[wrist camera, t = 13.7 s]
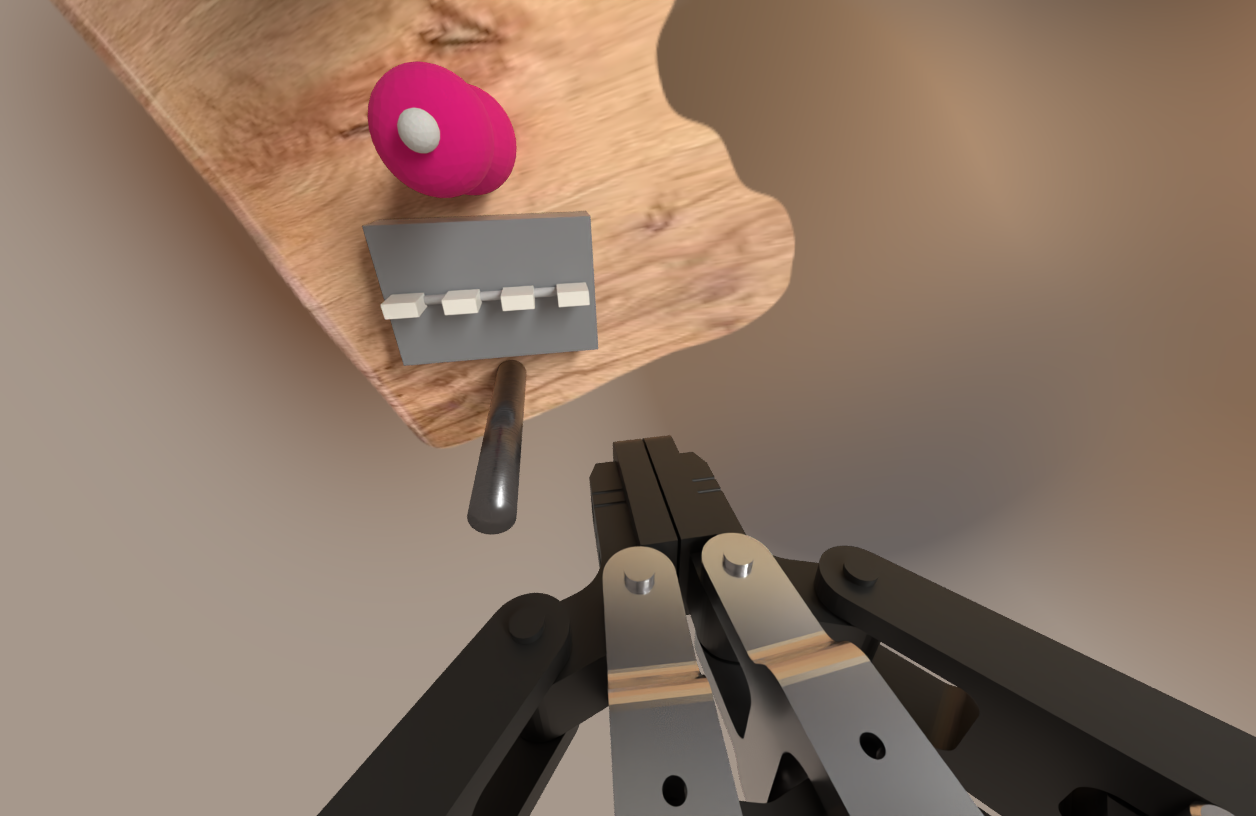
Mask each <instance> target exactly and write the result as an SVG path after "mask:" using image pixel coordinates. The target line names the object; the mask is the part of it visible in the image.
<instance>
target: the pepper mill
mask: <svg viewBox="0 0 1256 816" xmlns="http://www.w3.org/2000/svg"><path fill="white" fill-rule="evenodd" d="M368 124H369V131H370V134H371V138H372V141H373V144H374V146H375V148H376V151H377V153H378V154H379V156H380V158H381V159H382V161H383V163H384V164H385V165H386V167H387V168H388V169H389V170H390V171H391V172H392V173H393V174H394V176H396V177H397V178H398V179H399V180H400V181H401V182H403V183H404V184H405V185H407V186H408V187H410V188H412V189H413V190H415V191H417V192H420V193H423V194H426V195H429V196H433V197H438V198H452V197H456V196H461V195H463V194H466V195H483V194H487V193H490V192H492V191H494V190H496V189H497V188H499V187H500V186H501V185H502V184H503V183H504V182H505V181H506V180H507V179H508V177H509V175H510V174H511V172H512V169H513V167H514V163H515V159H516V138H515V134H514V130H513V127H512V124H511V122H510V120H509V118H508V116H507V114H506V112H505V111H504V110H503V108H502V107H501V105H500V104H499V103H498V102H497V101H496V100H495V99H494V98H493V97H492V96H490V95H489V94H488V93H487V92H485V91H483V90H482V89H480V88H478V87H476V86H473V85H470V84H467V83H466V82H465V81H464V80H463V79H462V78H460V77H459V76H457V75H456V74H455V73H453V72H452V71H450V70H448V69H446V68H444V67H441V66H438V65H435V64H431V63H426V62H408V63H404V64H401V65H398V66H396V67H394V68H392V69H391V70H389V71H388V72H387V73H385V74H384V75H383V76H382V77H381V79H380V80H379V81H378V82H377V83H376V85H375V87H374V89H373V91H372V93H371V96H370V100H369V104H368Z"/></svg>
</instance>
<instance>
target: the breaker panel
mask: <svg viewBox="0 0 1256 816" xmlns="http://www.w3.org/2000/svg"><path fill="white" fill-rule="evenodd" d="M362 227H363V231H364V234H365V237H366V241H367V244H368V247H369V251H370V254H371V257H372V261H373V264H374V267H375V271H376V274H377V277H378V281H379V284H380V287H381V291H382V294H383V297H384V301H385V300H386V299H387V298H388V297H389V296H391V295H393V294H409V293H424V295H437V294H447V292H448V291H456V290H472V289H480V292H484V291H499V290H503V287H519V286H534V288H545V287H557V286H556V284H565V283H581V282H586V285H587V287H588V290H589V303H590V305H582V306H568V307H559V304H558V296H551V297H536V298H535V309H526V310H511V311H503V309H502V303H501V300H492V301H482V304H481V307H480V309H479V311H478V313H469V314H455V315H445V313H444V309H443V305H442V304H433V305H427V308H426V309H425V310H424V311H423V313H422V314H421V315H420V317H413V318H399V319H390V321H391V324H392V327H393V331H394V334H395V337H396V341H397V344H398V347H399V351H400V354H401V357H402V361H403V364H404V366H406V365H418V364H430V363H442V362H453V361H465V360H477V359H489V358H500V357H512V356H524V355H536V354H547V353H559V352H571V351H583V350H595V349H598V336H597V320H596V303H595V286H594V269H593V253H592V236H591V219H590V215H589V214H588V213H587V212H586V211H578V212H554V213H531V214H507V215H483V216H459V217H435V218H411V219H388V220H377V221H374V222H371V223H369V224H366V225H363V226H362Z"/></svg>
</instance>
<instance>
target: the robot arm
mask: <svg viewBox="0 0 1256 816" xmlns="http://www.w3.org/2000/svg"><path fill="white" fill-rule="evenodd" d="M613 459H614V460H613V462H605V463H598V464H595V466H594V469H593V471H592V473H591V475H590V490H591V502H592V514H593V524H594V532H595V538H596V545H597V552H598V560H599V567H600V569H599V572H598V574H597V575H596V577H595V578H594V580H593V581H592V582H591V583H590V584H589V585H588V586H587V587H585V588H584V589H583V590H581V591H580V592H578V593H576V594H574V595H572V596H570V597H568V598H566V599H564V600H562V601H559V600H558V599H556V598H554V597H552V596H550V595H548V594H543V593H529V594H524V595H521V596H518V597H516V598H514V599H512V600H510V601H509V602H507V603H506V604H504V605H503V606H502V607H501V608H500V609H499V610H498V611H497V612H496V613H495V614H494V615H493V616H492V618H491V619H490V620H489V621H488V622H487V623H486V624H485V625H484V627H483V628H482V629H481V630H480V631H479V632H478V633H477V634H476V636H475V637H474V638H473V639H472V640H471V641H470V643H469V644H468V645H467V646H466V647H465V648H464V649H463V650H462V651H461V653H460V654H459V655H458V656H457V657H456V658H455V659H454V661H453V662H452V663H451V664H450V665H449V666H448V668H447V669H446V670H445V671H444V672H443V673H442V674H441V675H440V676H439V678H438V679H437V680H436V681H435V682H434V683H433V684H432V686H431V687H430V688H429V689H428V690H427V691H426V693H425V694H424V695H423V696H422V697H421V698H420V699H419V700H418V701H417V703H416V704H415V705H414V706H413V707H412V708H411V709H410V711H409V712H408V713H407V714H406V715H405V716H404V717H403V718H402V720H401V721H400V722H399V723H398V724H397V725H396V726H395V728H394V729H393V730H392V731H391V732H390V733H389V734H388V736H387V737H386V738H385V739H384V740H383V741H382V742H381V743H380V745H379V746H378V747H377V748H376V749H375V750H374V751H373V753H372V754H371V755H370V756H369V757H368V758H367V759H366V761H365V762H364V763H363V764H362V765H361V766H360V767H359V769H358V770H357V771H356V772H355V773H354V774H353V775H352V776H351V778H350V779H349V780H348V781H347V782H346V783H345V784H344V786H343V787H342V788H341V789H340V790H339V791H338V793H337V794H336V795H335V796H334V797H333V798H332V799H331V800H330V801H329V803H328V804H327V805H326V806H325V807H324V808H323V810H322V811H321V812H320V813H319V814H318V815H317V816H530V814H531V812H532V810H533V809H534V807H535V805H536V803H537V801H538V800H539V798H540V796H541V794H542V793H543V790H544V789H545V787H546V785H547V784H548V782H549V780H550V778H551V776H552V774H553V773H554V771H555V769H556V767H557V766H558V764H559V762H560V760H561V759H562V757H563V755H564V753H565V752H566V750H567V748H568V746H569V744H570V743H571V741H572V739H573V737H574V736H575V734H576V732H577V730H578V727H579V724H580V723H582V722H583V721H585V720H587V719H588V718H590V717H592V716H593V715H595V714H596V713H598V712H600V711H601V710H603V709H604V708H606V707H608V706H609V718H610V736H611V755H612V773H613V793H614V813H615V816H990V815H989V814H988V813H986V812H985V811H983V810H982V809H981V808H979V807H977V806H976V804H975V803H974V801H973V800H972V799H971V797H970V796H969V795H968V793H970V794H971V795H972V796H974V797H975V798H977V799H978V800H980V801H981V802H982V803H984V804H986V805H987V806H988V807H990V808H991V809H993V810H994V811H995V812H997V813H998V814H1000V815H1001V816H1256V737H1254V736H1252V735H1250V734H1248V733H1246V732H1244V731H1242V730H1240V729H1238V728H1236V727H1234V726H1232V725H1229V724H1227V723H1225V722H1223V721H1221V720H1219V719H1217V718H1215V717H1213V716H1210V715H1209V714H1206V713H1204V712H1202V711H1200V710H1198V709H1196V708H1194V707H1192V706H1190V705H1188V704H1186V703H1184V702H1182V701H1179V700H1177V699H1175V698H1173V697H1171V696H1169V695H1167V694H1165V693H1163V692H1161V691H1159V690H1157V689H1155V688H1152V687H1150V686H1148V685H1146V684H1144V683H1142V682H1140V681H1138V680H1136V679H1134V678H1131V677H1130V676H1127V675H1125V674H1123V673H1121V672H1119V671H1117V670H1115V669H1113V668H1111V667H1109V666H1107V665H1105V664H1102V663H1100V662H1098V661H1096V660H1094V659H1092V658H1090V657H1088V656H1085V655H1084V654H1082V653H1080V652H1077V651H1075V650H1073V649H1071V648H1069V647H1067V646H1065V645H1063V644H1061V643H1059V642H1057V641H1055V640H1053V639H1050V638H1048V637H1046V636H1044V635H1042V634H1040V633H1038V632H1036V631H1034V630H1032V629H1029V628H1027V627H1025V626H1023V625H1021V624H1019V623H1017V622H1015V621H1013V620H1011V619H1009V618H1007V617H1005V616H1003V615H1001V614H998V613H996V612H994V611H992V610H990V609H988V608H986V607H984V606H982V605H980V604H977V603H976V602H973V601H971V600H969V599H967V598H965V597H963V596H961V595H959V594H957V593H955V592H953V591H950V590H948V589H946V588H944V587H942V586H940V585H938V584H936V583H934V582H932V581H930V580H928V579H926V578H923V577H921V576H919V575H917V574H915V573H913V572H911V571H909V570H907V569H905V568H903V567H900V566H898V565H896V564H894V563H892V562H890V561H888V560H886V559H884V558H882V557H880V556H878V555H876V554H874V553H871V552H869V551H867V550H864V549H861V548H858V547H853V546H837V547H833V548H830V549H828V550H827V551H825V552H824V553H823V554H822V556H821V558H820V561H819V563H814V562H806V561H797V560H789V559H784V558H779V557H776V556H773V555H772V554H771V553H770V552H769V550H768V549H767V548H766V547H765V546H764V545H763V544H762V543H761V542H759V541H758V540H756V539H754V538H752V537H749V536H747V535H746V534H745V532H744V530H743V528H742V526H741V525H740V523H739V521H738V519H737V517H736V515H735V514H734V512H733V510H732V508H731V507H730V505H729V503H728V501H727V499H726V497H725V495H724V493H723V492H722V491H721V490H720V486H719V484H718V482H717V481H716V480H715V479H714V475H713V473H712V471H711V470H710V468H709V466H708V464H707V463H706V462H705V461H704V460H702V459H701V458H700V457H699V456H697V455H696V454H695V453H693V452H688V453H679V451H678V449H677V447H676V445H675V443H674V441H673V439H672V437H671V436H670V435H669V436H660V437H651V438H643V439H635V440H626V441H617V442H613ZM689 614H690V615H691V618H692V621H693V623H694V627H695V640H694V644H695V650H696V653H697V656H698V658H699V661H700V663H701V666H702V668H703V671H704V673H705V675H702V674H701V673H700V671H699V668H698V665H697V660H696V656H695V652H694V647H693V644H692V639H691V635H690V630H689V626H688V622H687V617H686V615H689ZM880 642H882V643H884V644H886V645H887V646H889V647H891V648H893V649H894V650H896V651H898V652H899V653H901V654H903V655H904V656H906V657H908V658H910V659H911V660H913V661H915V662H916V663H918V664H920V665H922V666H923V667H925V668H927V669H928V670H930V671H932V672H933V673H935V674H937V675H939V676H941V677H942V678H944V679H946V680H947V681H949V682H951V683H952V684H954V685H956V686H957V687H956V686H952V685H949V684H947V683H944V682H943V681H941V680H939V679H937V678H936V677H934V676H932V675H931V674H929V673H927V672H925V671H924V670H922V669H921V668H919V667H917V666H915V665H914V664H912V663H910V662H909V661H907V660H905V659H903V658H902V657H900V656H898V655H897V654H895V653H893V652H892V651H890V650H888V649H887V648H885V647H883V646H882V645H880ZM713 696H714V698H715V701H716V704H717V706H718V709H719V711H720V714H721V716H722V719H723V721H724V724H725V726H726V729H727V731H728V734H729V737H730V739H731V742H732V745H733V748H734V752H735V756H736V760H737V768H738V774H739V779H740V783H741V787H742V790H743V794H744V797H745V800H746V801H739V799H738V795H737V791H736V787H735V783H734V779H733V775H732V771H731V767H730V763H729V758H728V754H727V750H726V747H725V742H724V738H723V734H722V730H721V726H720V723H719V719H718V714H717V710H716V706H715V702H714V698H713ZM966 791H967V792H968V793H967V792H966Z"/></svg>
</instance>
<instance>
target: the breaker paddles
mask: <svg viewBox="0 0 1256 816" xmlns="http://www.w3.org/2000/svg"><path fill="white" fill-rule="evenodd" d="M556 286H557V287H545V288H534V286H519V287H503V290H499V291H484V292H480V289H472V290H456V291H448V292H447V294H437V295H424V293H409V294H393V295H391V296H389V297H388V298H387V299H386V300H385V301H384V302H383V303H382V304H381V308H382V312H383V315H384V318H385V319H399V318H413V317H420V315H421V314H422V313H423V311H424V310H425V309H426V308H427V305H433V304H442V305H443V309H444V313H445V315H455V314H469V313H478V311H479V309H480V307H481V304H482V301H492V300H501V303H502V309H503V311H511V310H526V309H535V298H536V297H551V296H558V304H559V307H568V306H582V305H590V303H589V290H588V287H587V285H586V282H581V283H565V284H556Z"/></svg>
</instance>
